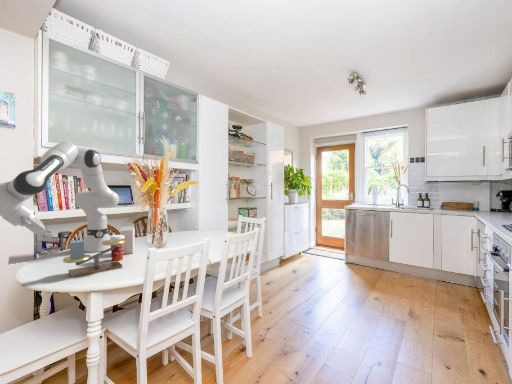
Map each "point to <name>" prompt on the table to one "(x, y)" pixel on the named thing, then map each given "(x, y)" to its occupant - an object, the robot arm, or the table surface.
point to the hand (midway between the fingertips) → (50, 235)
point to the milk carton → (128, 237)
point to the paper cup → (117, 249)
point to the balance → (95, 261)
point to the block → (76, 249)
